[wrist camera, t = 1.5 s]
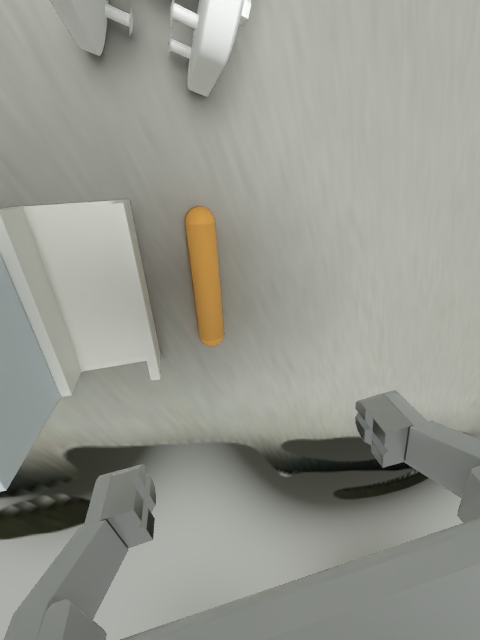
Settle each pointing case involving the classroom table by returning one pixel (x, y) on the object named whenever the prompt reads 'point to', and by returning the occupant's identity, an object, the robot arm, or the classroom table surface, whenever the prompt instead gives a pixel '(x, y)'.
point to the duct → (81, 286)
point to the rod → (205, 274)
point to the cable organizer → (208, 39)
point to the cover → (20, 383)
